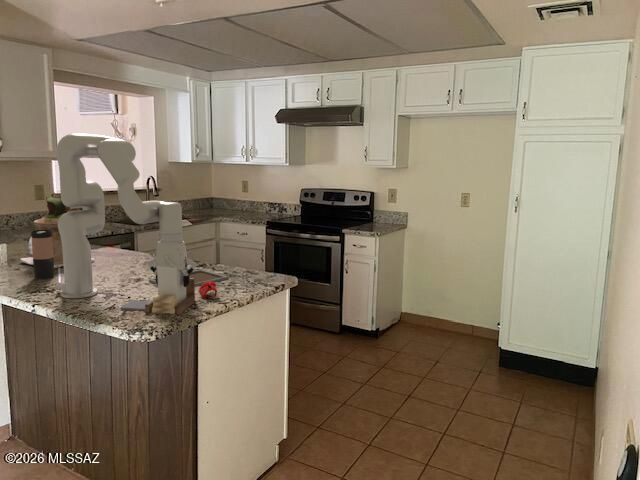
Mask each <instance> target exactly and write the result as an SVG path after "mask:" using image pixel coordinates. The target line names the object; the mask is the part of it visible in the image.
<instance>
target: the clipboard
mask: <svg viewBox="0 0 640 480" xmlns="http://www.w3.org/2000/svg"><path fill="white" fill-rule="evenodd" d="M189 276H190V278H194V282H195V287H199V286H201V285H202V284H204V283H205V282H214V283H216V282H220V281H226V280H228V279H229V276H228V275H223V274H219V273H216V272H214V271H213V272H212V271H208V270H205V269H197V270H194V271H193V272H191V274H189ZM148 283H151V284H154V288H157V289H158V286H157V283H156V277H154V278H150V279H148Z"/></svg>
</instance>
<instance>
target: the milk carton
mask: <svg viewBox="0 0 640 480" xmlns="http://www.w3.org/2000/svg"><path fill="white" fill-rule="evenodd" d="M166 259H167V260H168V261H169V262H170V263H171V264H172V265H173V266H159V265H160V264H159V265H158V266H157V273H158V288H157V294H161V295H176V300H179V304H180V303H181V302H182V301H183V300H185V299H186V287H184V283H183V276H185V275H184V273H183V272H182V271H178V268H177V266H175V265H174V264H173V263H172V262H171V261H170V260H169V259H168V255H167V256H166ZM166 259H165V260H166ZM165 260H164V261H165ZM164 261H163V262H164ZM163 262H162V263H163Z"/></svg>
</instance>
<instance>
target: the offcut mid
mask: <svg viewBox="0 0 640 480" xmlns="http://www.w3.org/2000/svg"><path fill="white" fill-rule="evenodd" d="M178 304H179V300H176V301H174V302H173V303H157V302H153V308H163V309H175V308H176V306H177V305H178Z"/></svg>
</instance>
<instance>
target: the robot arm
mask: <svg viewBox="0 0 640 480" xmlns="http://www.w3.org/2000/svg"><path fill="white" fill-rule="evenodd" d="M136 151H137V150H136V149H135V146H134V145H133V144H132V143H131V142H129V141H128V140H126V139H119V138H116V137H110V136H105V135H100V134H91V133H90V134H89V133H70V134H69V133H68V134H67V135H65V136H63V137H62V138H60V139H59V141H58V143H57V146H56V159H57V163H58V171H59V187H60V189H59V191H60V199H61V200H62V202H63V204H64V205H65V206H67V207H70V208H80V207H81V208H82V209H81V210H72V211H71V210H70V211H67V213H65V214H63V215H62V216H61V217H60V218H59V220H58V229H59V233H60V236H61V241H62V251H63V264H64V266H63V280H64V282H61V281H58V282H56V285H55V289H61V290H62V291H60V296H61V297H62V298H65V299H82V298H83V299H84V298H90V297H92V296H95V295H97V294H98V291H99V290H98V289H97V287H94V285H93V284H94V280H93V279H94V278H93V265H92V264H93V262H92V259H91V258H92V248H91V244H90V242H89V240H88V238H87V236H89V235H94V234H97V233H99V232H102V230H103V229H104V227H105V224H106V212H105V211H106V209H105V208H106V206H105V205H106V204H105V193H104V191H103V188H102V186H101V185H100V184H99V183H98V182H96V181H93V180H87V177H86V176H87V174H86V173H87V171H86V168H85V165H84V164H83V162H82V160H81V159H83V158H84V159H99V160H100V161H101V162H102V164H103V165H104V166H105V168H106V170H107V171H108V173H109V174H110V175H111V177H112V179H113V180H114V181H115V182H116V184H117V190H116V191H117V196H118V197H117V198H118V202H119V204H120V206H121V208H122V209H123V211H124V212H125V214H126V215H127V216H128V217H129V219H130V220H131V221H132V222H134V223H135V224H137V225H147V224H151V223H156V222H159V233H157V234H156V235H155V237H156V239H159V241H157V243H156V244H157V245H156V252H155V257H154V258H153V259H151V260H149V261H147V264H148V266H149V269H150V270H151V272H153V274H154V275H155V278H156V283H157V286H158V273H157V266H158V265H159V264H160V265H159V266H173V265H172V264H171V263H170V262H169V261H168V260H167V259H166V256H167V255H168V259H169V260H170V261H171V262H172V263H173V264H174V265H175V266H177V268H178V271H182V272H183V273H184V275H185V276H183V283H184V287H187V286H188V285H189V283H190V276H189V274H191V272H193V271H195V269H196V266H197V265H198V264H197V262H195V261H194V260H192V259H190V258H188V253H187V247H186V243H185V241H184V240H183V239H184V238H183V210H182V204H181V203H180V202H177V201H176V202H175V201H161V200H146V201H142V199H141V198H140V197H139V196H138V194H137V192H136V190H135V186H134V184H135V182H137V181H138V179H139V178H140V176H141V174H140V171H139V170H138V168H137V167H136V166H135V164H134V163H133V162H134V160H135V159H136V154H137V153H136ZM165 259H166V260H165ZM164 260H165V261H164ZM163 261H164V262H163ZM162 262H163V263H162ZM188 265H190V268H188Z"/></svg>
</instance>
